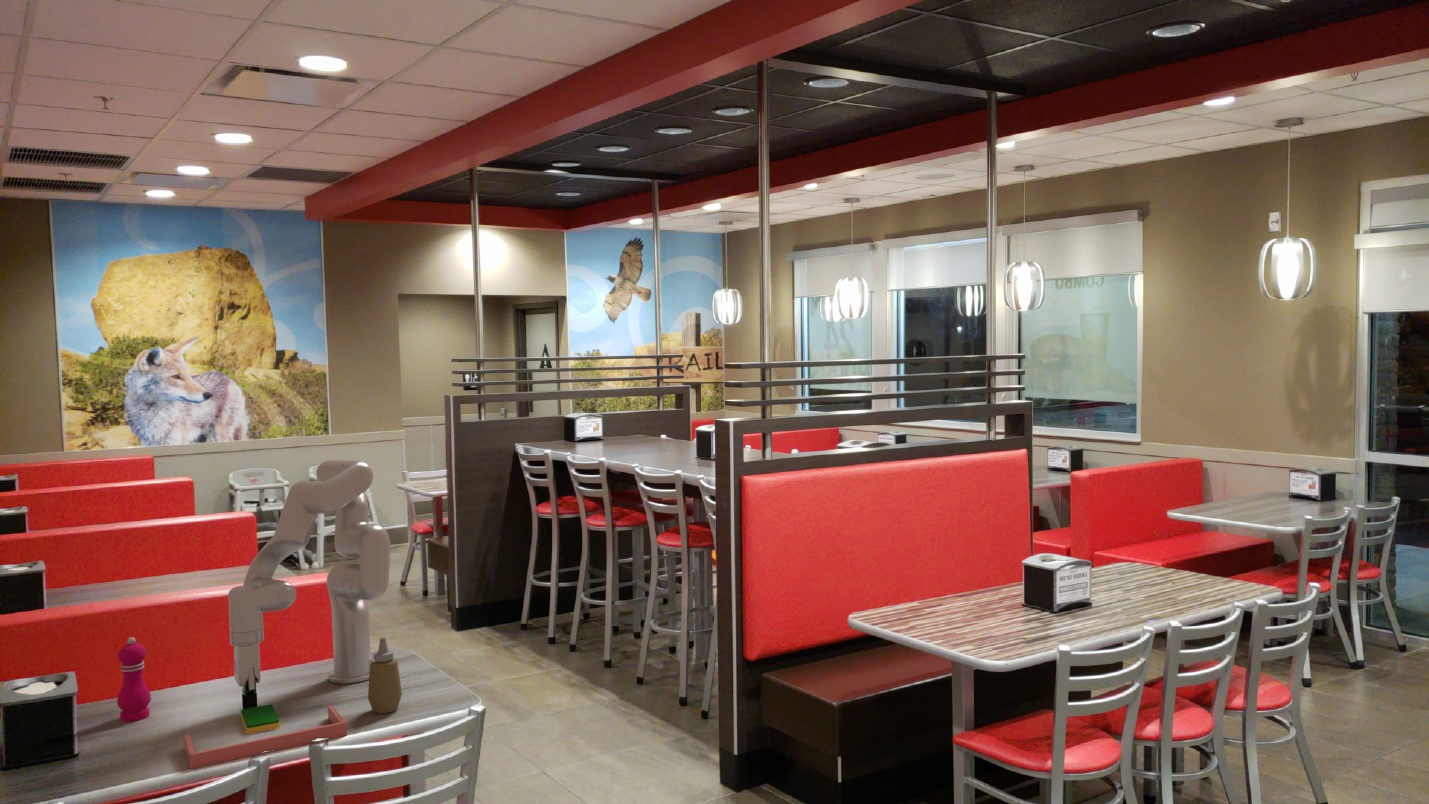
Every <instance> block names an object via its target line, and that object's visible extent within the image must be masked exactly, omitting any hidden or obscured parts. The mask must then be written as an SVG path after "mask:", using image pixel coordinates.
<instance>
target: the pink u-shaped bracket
mask: <svg viewBox="0 0 1429 804" xmlns="http://www.w3.org/2000/svg"><path fill="white" fill-rule="evenodd" d="M327 715H328V720H329V721H330V723H331V724H327V725H320V726H316V727H312V728H308V729H302V730H297V731H293V732H292V731H291V732H287V733H283V734H278V735H273V736H267V737H265V738H260V739H253V740H249V741H244V742H240V743H234V744H231V745H225V746H221V747H216V748H210V749H206V750H202V751H198V752H196V751H195V750H196V749H195V748H194V745H193V742H192V739H191V737H190V733H187V734H183V745H184V747H183V748H184V751H185V754H186V758H187V761H188V764H189V767H190V769H191V770H192V769H193V770H194V769H197V768H198V769H199V768H202V767H207V766H211V765H216V764H219V763H221V764H222V763H225V762H230V761H234V760H238V759H243V758H248V757H253V756H252V755H254V756H256V755H255V754H258V755H261V754H260V753H262V752H264V751H272V750H277V751H281V750H280V749H282V750H284V749H286V750H287V749H290V748H294V747H295V746H296V747H299V746H304V744H305V745H309V744H311V743H310V742H312V740H315V739H317V738H333V739H335V738H334V737H337V738H341V736H342V737H345V736H344V735H346V736H347V735H348V729H347V727H348V726H347V721H346V720H345V719H344V718H343V716H341V714H340V713H339V712H338V711H337V710H336V709H335V707H334V706H333V705H328V706H327ZM308 743H309V744H308ZM272 752H273V751H272Z"/></svg>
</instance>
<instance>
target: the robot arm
mask: <svg viewBox="0 0 1429 804" xmlns="http://www.w3.org/2000/svg"><path fill="white" fill-rule="evenodd" d="M315 475H316V479H317V480H300V481H298V482H295V483H294V484H293V485H292V486H291V487H290V489H289V491H288V493H287V496H286V500H285V502H284V506H283V509H282V511H281V514H280V517H279V520H278V522H277V526H276V529H275V531H274V534H273V535H272V537H271V538H270V539H269V540H268V541H267V542H266V543H265V545H263V546H262V548H261V549H260V550H259V551H258V553H256V555H255V556H254V558H253V559H252V561H251V563H250V564H249V567H248V570H247V573H246V575H245V577H244V580H243V585H239V586H238V585H237V586H235V587H232V588H230V590H229V591H228V593H227V594H228V595H227V596H228V597H227V598H228V599H227V600H228V621H229V622H228V623H229V625H228V626H229V644H230V646H233V647H234V648H233V650H234V651H233V661H234V662H233V665H234V666H233V667H234V668H233V669H234V670H233V672H234V673H233V677H234V678H233V679H234V681H235V682H236V684H237V686H238V687H240V688H241V690H242V693H241V701H242V702H241V703H242V705H241V707H242V708H241V709H246V708H252V707H257V706H258V693H257V684H259V683H260V682H261V658H260V657H261V654H260V653H261V652H260V643H262V642H264V641H265V637H264V615H263V613H268V612H279V611H284V610H286V609H287V608H289V607H291V606H292V605H293V604H294V602H295V601H296V598H297V590H296V588H295V586H294V585H293V584H292V582H288V581H286V580H283V579H274V578H273V577H274V575H275V572H276V570H277V568H278V567H279V565H280V564H281V563H282V562H283V560H285V559H286V558H288V557H289V556H291V555H292V554H295V553H296V552H298V551H300V550H301V549H303V548H305V547H307V545H308V544H309V542H310V538H311V534H312V532H313V529H314V527H315V523H316V520H317V518H318V515H328V514H330V515H331V514H333V513H334V512H335V519H334V520H335V524H334V549H335V552H336V553H337V554H338V555H340V556H342V557H345V558H352V559H358V560H359V562H351V561H343V562H339V563H337V564H335V565H334V566H333V567H332V568H330V570H329V572H328V574H327V577H326V588H327V591H328V592H327V593H328V596H329V600H330V606H331V607H330V608H331V620H332V621H331V622H332V623H331V625H332V645H333V646H332V648H333V651H332V652H333V669H334V671H331V672H330V673H329V674H328V681H329V682H331V683H334V684H354V683H359V682H364V681H365V682H366V681H369V674H370V664H371V663H372V662H373V661H374V657H372V656H371V655H372V654H371V636H370V635H371V634H370V632H371V630H370V628H371V627H370V611H369V606H368V602H367V601H376V600H379V599H380V598H382V596H384V594H385V593H386V591H387V589H388V586H389V581H390V565H391V564H390V563H391V562H390V561H391V538H390V535H389V534H388V532H387V530H386V529H385V528H384V527H382V526H381V525H378V524H374V523H373V524H372V523H370V522H369V500H368V497H367V495H366V493H365V492H366V491H367V490H368V489H369V488H370V487H371V485H372V483H373V481H374V473H373V469H372V468H371V466H370V465H369V464H367V463H366V462H363V461H359V460H343V459H341V460H340V459H330V460H326V461H323V462H321V463H320V464H319V465H318V466H317V468H316V473H315Z"/></svg>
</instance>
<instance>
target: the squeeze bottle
mask: <svg viewBox="0 0 1429 804" xmlns="http://www.w3.org/2000/svg"><path fill="white" fill-rule="evenodd" d="M379 639H380V640H379V644H378V650H377V651H376V652H374V653H373V659H374V661H373V662H372V663H371V664H370V674H369V679H368V691H367V699H368V702H369V705H370V707H371V709H372V712H373V713H375V714H388V713H389V714H390V713H392V712H395V711H397V710H399V705H400V702H401V698H402V694H403V692H402V684H401V676H400V671H399V670H400V669H399V663H398V660H396V659H395V658H394V651H393V650H389V647H388V643H387V639H386V637H380V638H379Z"/></svg>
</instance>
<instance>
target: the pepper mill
mask: <svg viewBox="0 0 1429 804" xmlns="http://www.w3.org/2000/svg"><path fill="white" fill-rule="evenodd" d="M126 642H127V644H124V645H123V646H121V647H120V649H119V650H118V653H117V659H118V661H119V662H120V663H121V664H120V668H121V669H120V671H121V672H122V674H123V676H122V677H123V681H122V684H121V688H120V690H119V693H118V696H117V698H116V699H117V703H116V706H117V707H118V708H119V709H120V710H121V711H120V712H119V720H120V721H121V722H123V723H129V722H131V723H132V722H137V721H142V720H145V719H147V718H148V717H150V707H149V706H148V705H149V704H150V702H151V700H152V696H151V692H150V690H149V688H148V686H147V684H146V682H145V680H144V675H143V669H144V668H145V662H144V659H145V658H146V655H147V649H146V648H145V646H144V645H143V644H141V643H138V642H136V638H135V637H132V636H131V637H128V639H127V640H126Z"/></svg>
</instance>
